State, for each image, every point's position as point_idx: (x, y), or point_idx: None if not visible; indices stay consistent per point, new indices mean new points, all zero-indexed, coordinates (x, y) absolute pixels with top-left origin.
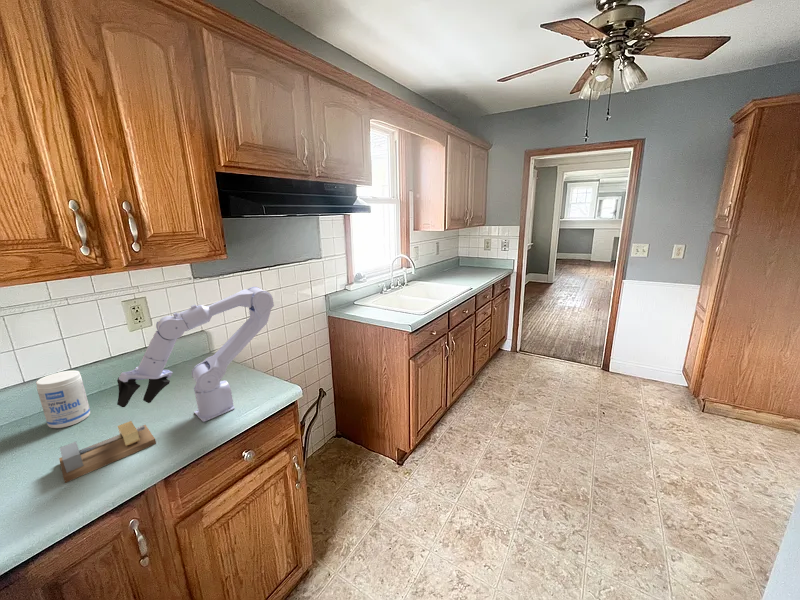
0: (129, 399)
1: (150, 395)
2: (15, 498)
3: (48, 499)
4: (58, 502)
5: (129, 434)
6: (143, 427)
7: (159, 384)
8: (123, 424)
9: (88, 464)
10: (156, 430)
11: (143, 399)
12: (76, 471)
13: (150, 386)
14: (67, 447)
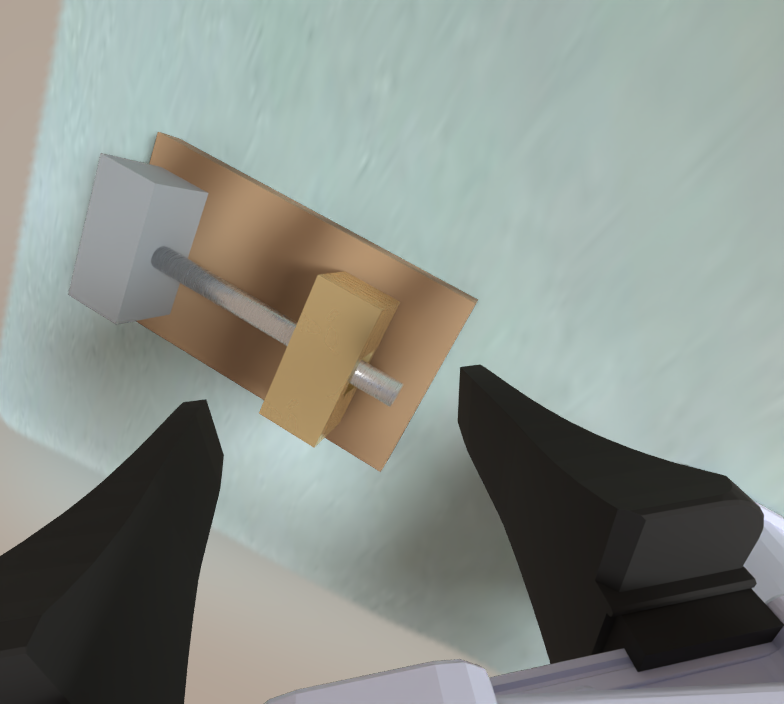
0: (203, 534)
1: (484, 456)
2: (43, 205)
3: (82, 330)
4: (89, 378)
5: (283, 427)
6: (385, 403)
7: (550, 622)
8: (338, 299)
9: (180, 326)
10: None
11: (462, 373)
12: (144, 320)
13: (529, 478)
14: (116, 196)
